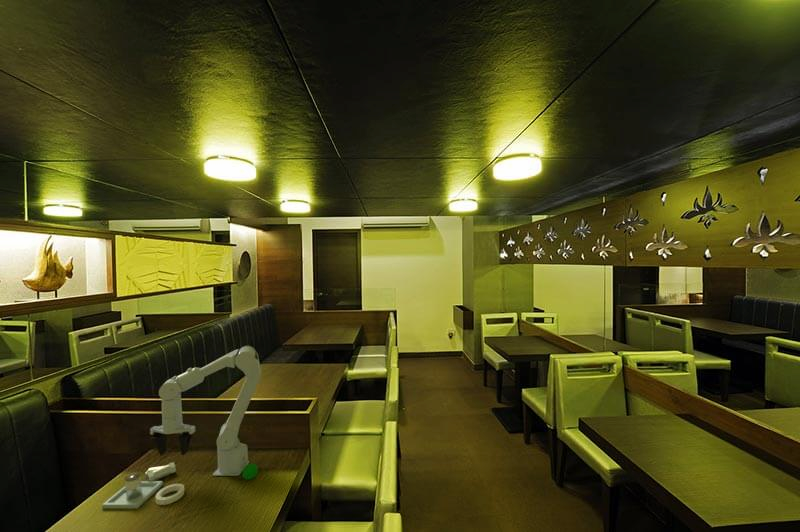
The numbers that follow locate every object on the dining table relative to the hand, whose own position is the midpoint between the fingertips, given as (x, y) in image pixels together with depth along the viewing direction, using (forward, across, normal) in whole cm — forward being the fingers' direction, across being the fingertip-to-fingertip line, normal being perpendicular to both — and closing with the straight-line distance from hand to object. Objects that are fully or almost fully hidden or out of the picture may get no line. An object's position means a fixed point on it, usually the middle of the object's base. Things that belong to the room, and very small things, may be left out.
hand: (173, 453), depth 119 cm
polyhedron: (+10, -26, -1) cm, 28 cm away
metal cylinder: (+9, +8, +8) cm, 14 cm away
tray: (+9, +8, +8) cm, 15 cm away
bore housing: (+9, -4, +8) cm, 13 cm away
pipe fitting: (+10, +7, -2) cm, 12 cm away
